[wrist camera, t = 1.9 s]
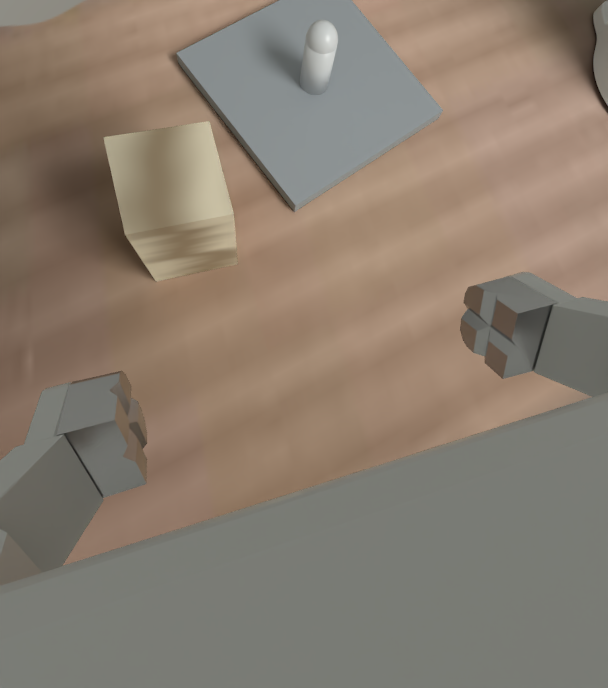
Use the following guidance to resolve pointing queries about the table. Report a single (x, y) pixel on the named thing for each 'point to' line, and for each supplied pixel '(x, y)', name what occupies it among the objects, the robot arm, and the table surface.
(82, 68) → the table surface
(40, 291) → the table surface
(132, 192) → the beige block
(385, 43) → the post base
